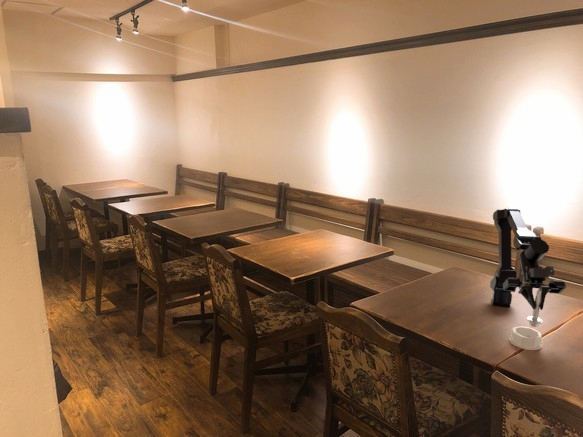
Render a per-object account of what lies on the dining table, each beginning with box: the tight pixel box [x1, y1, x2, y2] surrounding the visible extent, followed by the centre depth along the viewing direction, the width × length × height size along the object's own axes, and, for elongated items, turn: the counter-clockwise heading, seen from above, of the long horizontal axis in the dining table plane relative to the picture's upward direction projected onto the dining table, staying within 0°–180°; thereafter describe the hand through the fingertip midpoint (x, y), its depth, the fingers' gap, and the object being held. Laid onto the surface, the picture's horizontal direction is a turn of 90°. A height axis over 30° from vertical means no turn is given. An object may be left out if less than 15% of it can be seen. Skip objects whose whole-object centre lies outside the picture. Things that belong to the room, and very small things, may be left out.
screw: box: [526, 289, 544, 328], centre depth 157 cm, size 13×5×5 cm
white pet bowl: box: [509, 325, 543, 351], centre depth 160 cm, size 10×10×4 cm
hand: (538, 309), depth 156 cm, fingers closed on screw
